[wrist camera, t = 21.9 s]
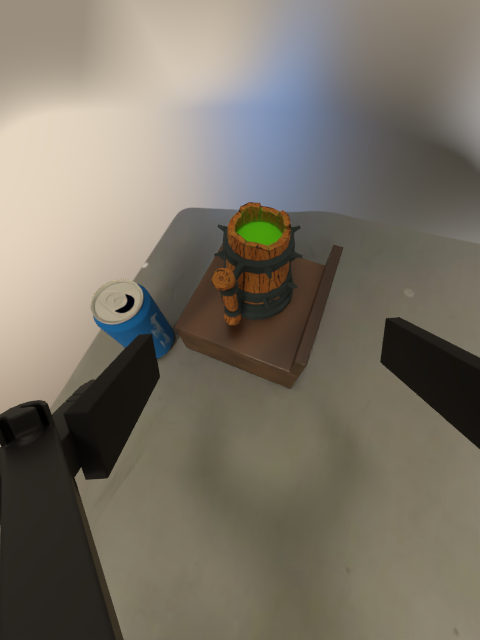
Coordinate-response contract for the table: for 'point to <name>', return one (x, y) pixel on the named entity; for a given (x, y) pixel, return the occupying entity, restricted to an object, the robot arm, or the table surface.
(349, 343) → the table surface
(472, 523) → the table surface
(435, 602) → the table surface
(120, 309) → the beverage can
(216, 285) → the mug
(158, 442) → the table surface
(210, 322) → the brown wooden box
